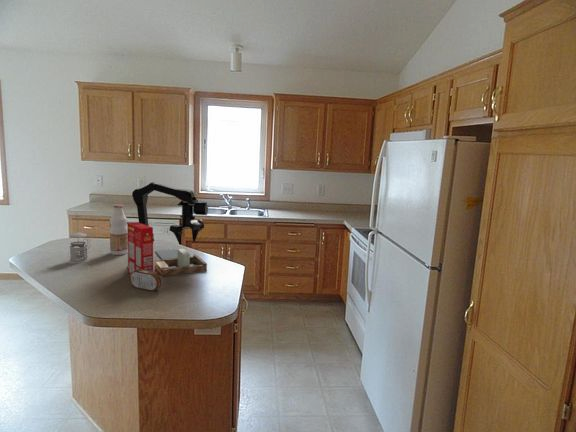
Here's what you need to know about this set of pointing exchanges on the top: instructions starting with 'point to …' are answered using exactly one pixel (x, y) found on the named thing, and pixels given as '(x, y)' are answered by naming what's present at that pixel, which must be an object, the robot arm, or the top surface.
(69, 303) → the top surface
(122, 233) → the fruit juice
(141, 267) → the food packaging
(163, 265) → the offcut stack
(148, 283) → the tin
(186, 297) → the top surface
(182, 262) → the panel
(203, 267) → the brown rectangular shallow frame
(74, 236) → the french press
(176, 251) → the mat
